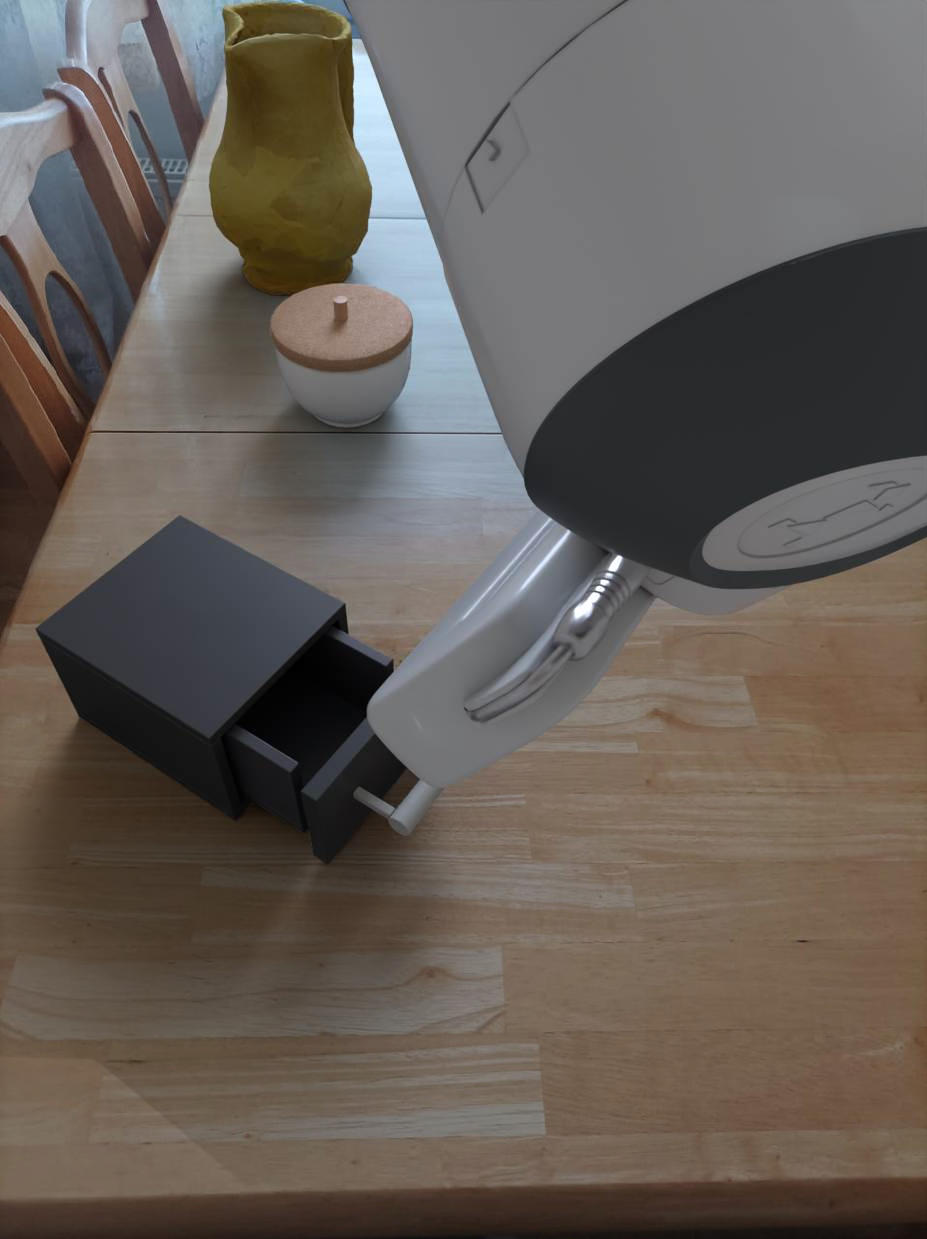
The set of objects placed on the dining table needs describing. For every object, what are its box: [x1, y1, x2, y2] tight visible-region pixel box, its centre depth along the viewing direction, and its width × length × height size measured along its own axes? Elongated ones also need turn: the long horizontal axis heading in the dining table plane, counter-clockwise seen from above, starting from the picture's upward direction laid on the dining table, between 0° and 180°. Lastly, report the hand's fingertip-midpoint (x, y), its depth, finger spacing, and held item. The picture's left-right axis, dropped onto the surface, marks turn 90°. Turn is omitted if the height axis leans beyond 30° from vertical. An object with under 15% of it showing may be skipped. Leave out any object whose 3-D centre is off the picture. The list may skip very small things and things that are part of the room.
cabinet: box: [34, 514, 350, 822], centre depth 63 cm, size 15×13×10 cm
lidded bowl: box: [269, 282, 414, 429], centre depth 85 cm, size 13×13×11 cm
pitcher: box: [208, 0, 373, 296], centre depth 97 cm, size 17×19×25 cm
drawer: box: [220, 626, 446, 866], centre depth 59 cm, size 18×11×8 cm, turn 57°
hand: (472, 624), depth 39 cm, fingers closed
